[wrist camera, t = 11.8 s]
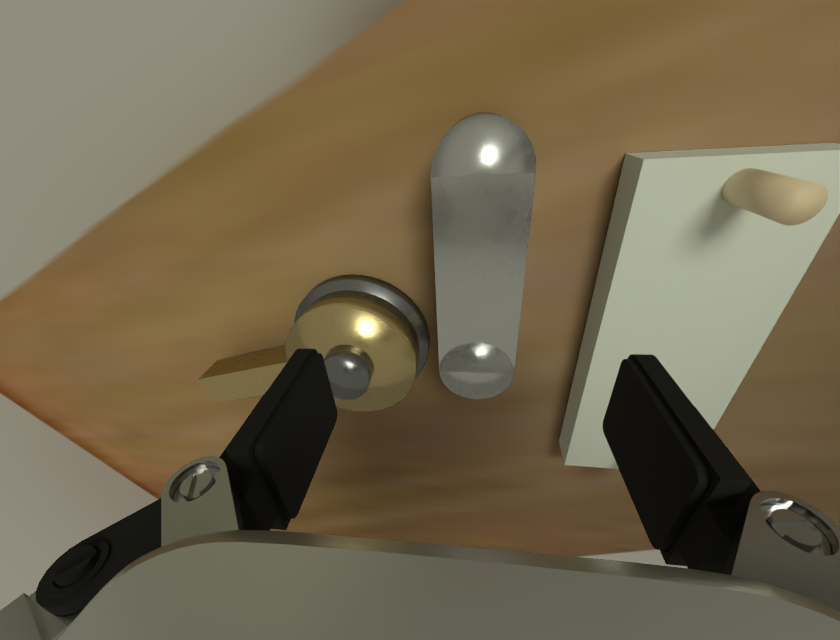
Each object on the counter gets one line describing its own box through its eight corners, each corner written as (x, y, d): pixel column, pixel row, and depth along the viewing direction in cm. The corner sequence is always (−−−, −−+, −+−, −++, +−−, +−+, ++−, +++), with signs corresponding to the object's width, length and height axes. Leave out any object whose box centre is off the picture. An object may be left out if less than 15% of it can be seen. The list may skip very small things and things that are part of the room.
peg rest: (625, 153, 15) (681, 171, 11) (830, 142, 14) (977, 159, 10) (558, 441, 26) (574, 506, 22) (673, 449, 25) (713, 519, 21)
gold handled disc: (394, 276, 19) (380, 306, 16) (435, 381, 23) (429, 420, 20) (192, 327, 23) (153, 358, 20) (255, 408, 27) (230, 444, 24)
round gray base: (283, 274, 21) (277, 280, 21) (425, 274, 20) (424, 280, 19) (316, 382, 26) (311, 389, 25) (432, 387, 25) (431, 395, 24)
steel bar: (445, 354, 23) (440, 397, 20) (437, 115, 16) (428, 118, 12) (505, 356, 23) (510, 400, 19) (527, 108, 15) (542, 110, 12)
